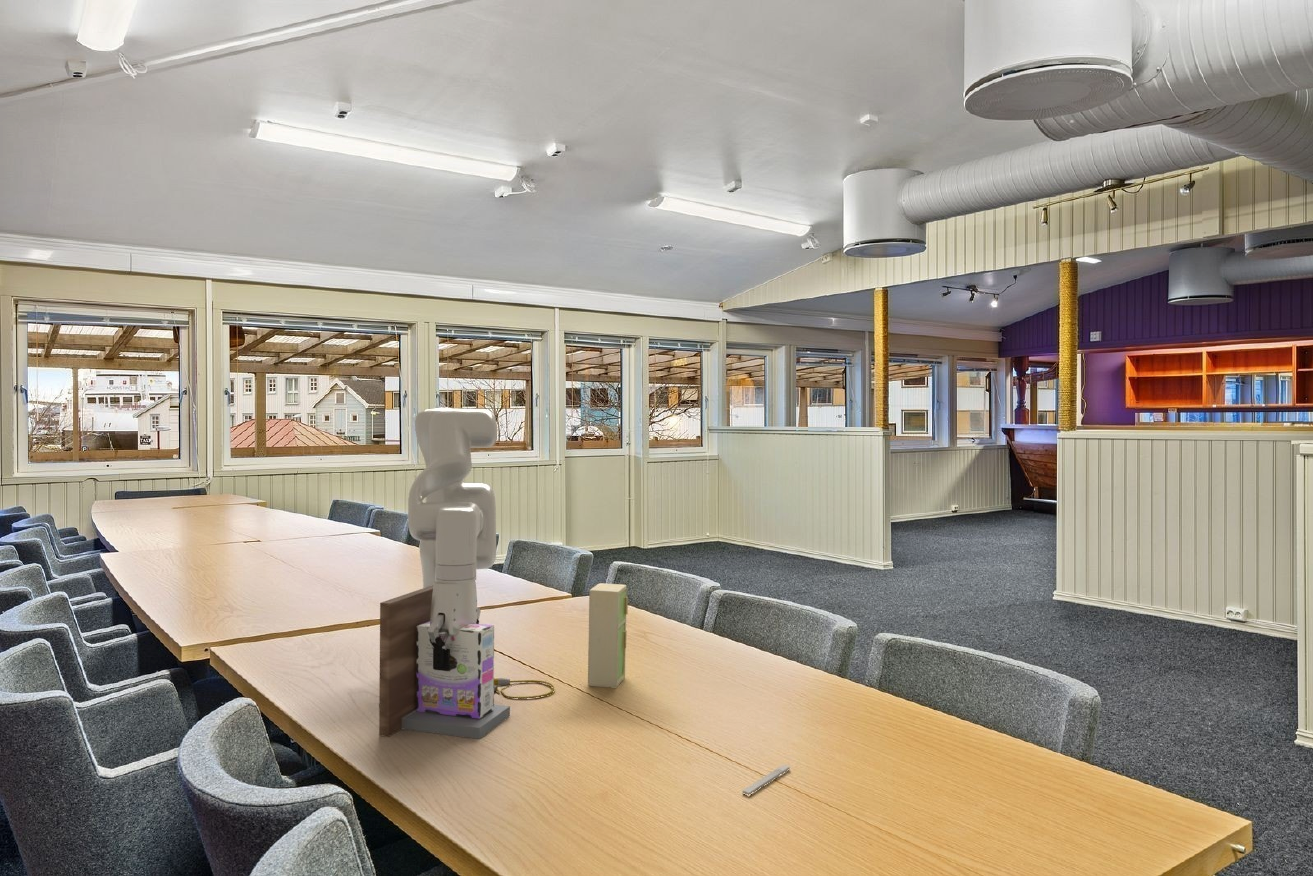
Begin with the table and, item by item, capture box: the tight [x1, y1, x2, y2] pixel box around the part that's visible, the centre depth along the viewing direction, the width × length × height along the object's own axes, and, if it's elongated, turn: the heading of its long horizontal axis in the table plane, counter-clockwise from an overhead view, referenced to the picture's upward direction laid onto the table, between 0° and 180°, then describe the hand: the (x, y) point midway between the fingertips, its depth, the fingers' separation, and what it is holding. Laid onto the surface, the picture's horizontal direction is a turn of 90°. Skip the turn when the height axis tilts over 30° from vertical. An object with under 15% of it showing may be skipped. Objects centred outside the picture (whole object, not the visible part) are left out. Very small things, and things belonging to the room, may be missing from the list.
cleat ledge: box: [401, 703, 511, 740], centre depth 153 cm, size 16×12×2 cm
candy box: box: [416, 621, 495, 719], centre depth 153 cm, size 14×6×16 cm, turn 72°
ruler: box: [742, 764, 790, 795], centre depth 128 cm, size 12×1×1 cm, turn 141°
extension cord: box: [494, 677, 555, 699], centre depth 172 cm, size 12×16×2 cm
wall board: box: [378, 585, 434, 737], centre depth 155 cm, size 2×20×24 cm, turn 164°
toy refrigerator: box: [587, 582, 629, 689], centre depth 178 cm, size 8×7×21 cm
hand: (455, 662), depth 153 cm, fingers open, 9 cm apart
